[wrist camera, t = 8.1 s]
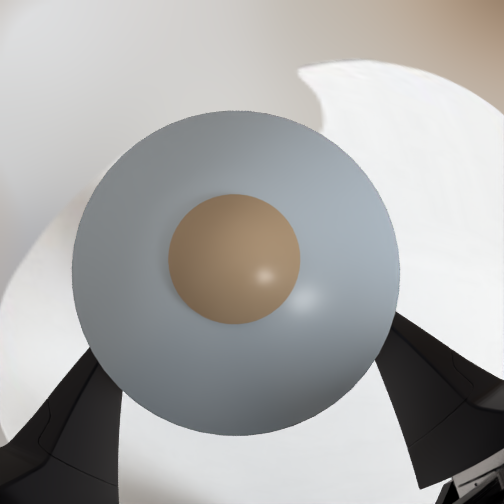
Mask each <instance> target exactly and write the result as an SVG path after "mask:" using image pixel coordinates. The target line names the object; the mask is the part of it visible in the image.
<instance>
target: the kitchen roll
mask: <svg viewBox="0 0 504 504" xmlns="http://www.w3.org/2000/svg"><path fill="white" fill-rule="evenodd" d="M399 283H400V263H399V252H398V246H397V241H396V237H395V232H394V228H393V225H392V222H391V220H390V217H389V214H388V211H387V209H386V207H385V205H384V203H383V201H382V199H381V197H380V195H379V193H378V191H377V190H376V188H375V187H374V185H373V184H372V182H371V181H370V179H369V178H368V176H367V175H366V174H365V173H364V171H363V170H362V169H361V168H360V167H359V166H358V165H357V163H356V162H355V161H354V160H353V159H352V158H351V157H350V156H349V155H348V154H346V153H345V152H344V151H343V150H342V149H341V148H340V147H338V146H337V145H336V144H334V143H333V142H332V141H330V140H329V139H327V138H326V137H324V136H323V135H321V134H319V133H318V132H316V131H314V130H312V129H310V128H308V127H306V126H304V125H301V124H299V123H297V122H294V121H291V120H289V119H286V118H282V117H278V116H274V115H270V114H266V113H258V112H251V111H221V112H212V113H206V114H201V115H197V116H192V117H189V118H186V119H183V120H180V121H178V122H175V123H172V124H169V125H167V126H165V127H163V128H161V129H159V130H158V131H155V132H154V133H152V134H150V135H149V136H147V137H146V138H144V139H143V140H141V141H140V142H138V143H137V144H136V145H134V146H133V147H132V148H131V149H130V150H128V151H127V152H126V153H125V154H124V155H123V156H121V158H120V159H119V160H118V161H117V162H116V163H115V164H114V165H113V166H112V167H111V168H110V169H109V171H108V172H107V173H106V175H105V176H104V177H103V179H102V180H101V182H100V183H99V184H98V186H97V187H96V189H95V191H94V193H93V194H92V196H91V198H90V200H89V202H88V204H87V206H86V208H85V211H84V213H83V216H82V219H81V221H80V224H79V227H78V231H77V235H76V240H75V244H74V251H73V260H72V288H73V295H74V301H75V307H76V311H77V315H78V318H79V321H80V325H81V328H82V331H83V333H84V335H85V338H86V340H87V342H88V344H89V346H90V348H91V350H92V352H93V354H94V355H95V357H96V358H97V360H98V362H99V363H100V365H101V366H102V368H103V369H104V370H105V372H106V373H107V374H108V375H109V376H110V378H111V379H112V380H113V381H114V382H115V383H116V384H117V386H118V387H119V388H120V389H121V390H123V391H124V392H125V393H126V394H127V395H128V396H129V397H131V398H132V399H133V400H134V401H135V402H136V403H138V404H139V405H141V406H142V407H144V408H145V409H147V410H148V411H150V412H152V413H153V414H155V415H157V416H159V417H161V418H163V419H165V420H167V421H169V422H171V423H174V424H176V425H178V426H182V427H185V428H188V429H191V430H195V431H198V432H203V433H210V434H216V435H226V436H248V435H256V434H263V433H269V432H274V431H277V430H281V429H284V428H288V427H291V426H294V425H296V424H298V423H301V422H303V421H305V420H307V419H309V418H312V417H314V416H316V415H317V414H319V413H320V412H322V411H324V410H325V409H327V408H328V407H330V406H331V405H333V404H334V403H336V402H337V401H338V400H339V399H340V398H342V397H343V396H344V395H345V394H346V393H347V392H348V391H350V390H351V389H352V388H353V387H354V386H355V384H356V383H357V382H358V381H359V380H360V379H361V378H362V377H363V375H364V374H365V373H366V372H367V370H368V369H369V368H370V366H371V365H372V363H373V362H374V360H375V359H376V357H377V355H378V354H379V352H380V350H381V348H382V346H383V344H384V342H385V340H386V338H387V335H388V333H389V330H390V327H391V324H392V321H393V318H394V315H395V311H396V306H397V300H398V294H399Z"/></svg>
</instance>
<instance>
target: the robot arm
mask: <svg viewBox="0 0 504 504" xmlns="http://www.w3.org/2000/svg"><path fill="white" fill-rule="evenodd" d="M375 362H376V364H377V367H378V369H379V371H380V374H381V376H382V379H383V381H384V384H385V387H386V389H387V392H388V394H389V397H390V400H391V402H392V405H393V408H394V410H395V413H396V416H397V419H398V422H399V424H400V427H401V430H402V433H403V436H404V439H405V442H406V445H407V448H408V452H409V455H410V458H411V462H412V465H413V468H414V472H415V475H416V479H417V482H418V486H419V488H420V489H423V488H426V487H429V486H431V485H434V484H436V483H439V482H441V481H443V480H446V479H448V478H450V477H452V480H450V481H449V482H447V483H446V484H444V485H443V487H442V490H441V492H440V494H439V496H438V499H437V501H436V503H435V504H504V380H502V379H500V378H498V377H496V376H494V375H492V374H491V373H489V372H487V371H485V370H484V369H482V368H480V367H478V366H477V365H475V364H473V363H472V362H470V361H468V360H467V359H465V358H464V357H462V356H461V355H459V354H458V353H457V352H455V351H454V350H452V349H450V348H449V347H448V346H446V345H445V344H443V343H442V342H441V341H439V340H438V339H436V338H435V337H433V336H432V335H430V334H429V333H427V332H426V331H424V330H423V329H421V328H420V327H418V326H417V325H415V324H414V323H412V322H411V321H409V320H408V319H406V318H405V317H403V316H402V315H400V314H399V313H397V312H396V311H395V315H394V318H393V321H392V324H391V327H390V330H389V333H388V335H387V338H386V340H385V342H384V344H383V346H382V348H381V350H380V352H379V354H378V355H377V357H376V359H375ZM122 391H123V390H121V389H120V388H119V387H118V386H117V384H116V383H115V382H114V381H113V380H112V379H111V378H110V376H109V375H108V374H107V373H106V372H105V370H104V369H103V368H102V366H101V365H100V363H99V362H98V360H97V358H96V357H95V355H94V354H93V352H92V350H91V348H90V347H89V349H88V350H87V351H86V352H85V353H84V354H83V356H82V357H81V358H80V359H79V360H78V361H77V363H76V364H75V365H74V366H73V367H72V369H71V370H70V371H69V372H68V373H67V375H66V376H65V377H64V378H63V379H62V381H61V382H60V383H59V384H58V386H57V387H56V388H55V389H54V391H53V392H52V393H51V394H50V396H49V397H48V399H46V401H45V402H44V403H43V405H42V406H41V407H40V408H39V409H38V411H37V412H36V413H35V414H34V416H33V417H32V418H31V419H30V420H29V421H28V422H27V423H26V425H25V426H24V427H23V428H22V429H21V430H20V431H19V432H18V433H17V434H16V436H15V437H14V438H13V439H12V440H11V441H10V442H9V443H8V444H6V445H5V446H3V447H0V504H119V495H118V446H119V427H120V413H121V402H122Z"/></svg>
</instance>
